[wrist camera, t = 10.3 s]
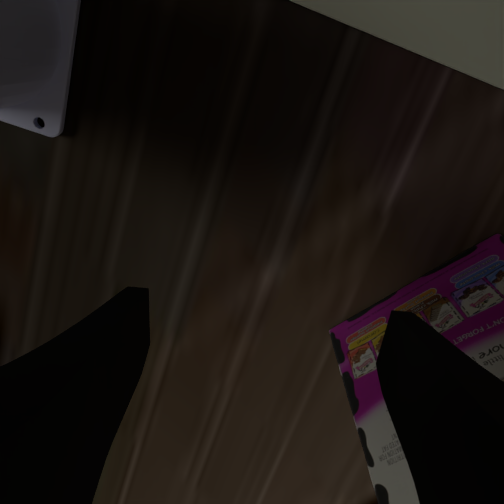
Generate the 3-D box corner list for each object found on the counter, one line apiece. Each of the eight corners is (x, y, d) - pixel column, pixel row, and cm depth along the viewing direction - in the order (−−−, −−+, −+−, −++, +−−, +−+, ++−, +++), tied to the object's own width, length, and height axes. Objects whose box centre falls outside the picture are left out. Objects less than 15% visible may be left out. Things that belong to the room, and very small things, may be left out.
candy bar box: (366, 376, 27) (503, 776, 12) (325, 327, 25) (428, 726, 10) (533, 290, 24) (994, 686, 9) (500, 227, 22) (1008, 593, 7)
